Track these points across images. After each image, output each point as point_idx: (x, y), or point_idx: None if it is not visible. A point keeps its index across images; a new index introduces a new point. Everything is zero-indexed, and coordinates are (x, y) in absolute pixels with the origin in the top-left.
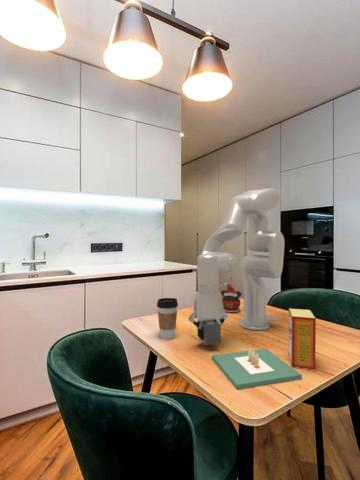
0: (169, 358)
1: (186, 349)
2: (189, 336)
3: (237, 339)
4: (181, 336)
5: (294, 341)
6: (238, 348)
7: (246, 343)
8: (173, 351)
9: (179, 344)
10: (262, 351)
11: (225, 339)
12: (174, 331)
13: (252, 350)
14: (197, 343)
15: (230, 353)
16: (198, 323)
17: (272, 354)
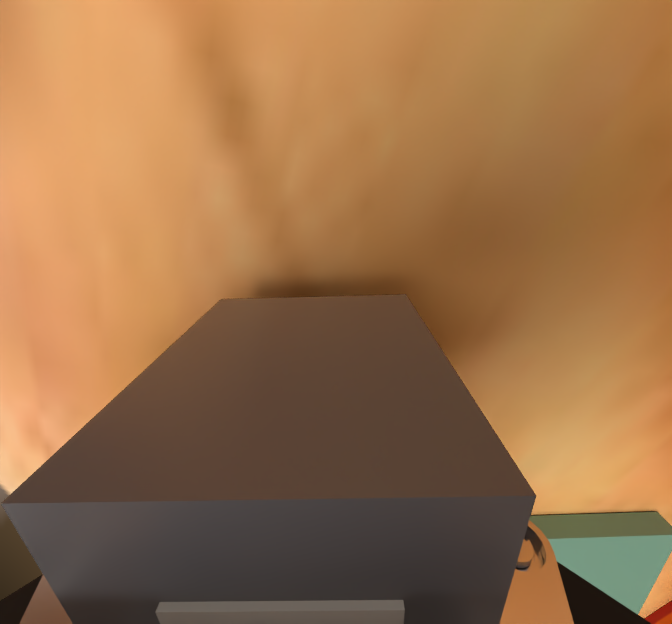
0: (3, 476)
1: (123, 380)
2: (169, 51)
3: (652, 282)
4: (57, 19)
5: None
6: (528, 439)
7: (653, 377)
8: (14, 391)
9: (53, 270)
10: (620, 560)
11: (543, 255)
12: None
13: (573, 539)
14: (235, 286)
15: None
16: (70, 620)
17: (640, 591)
